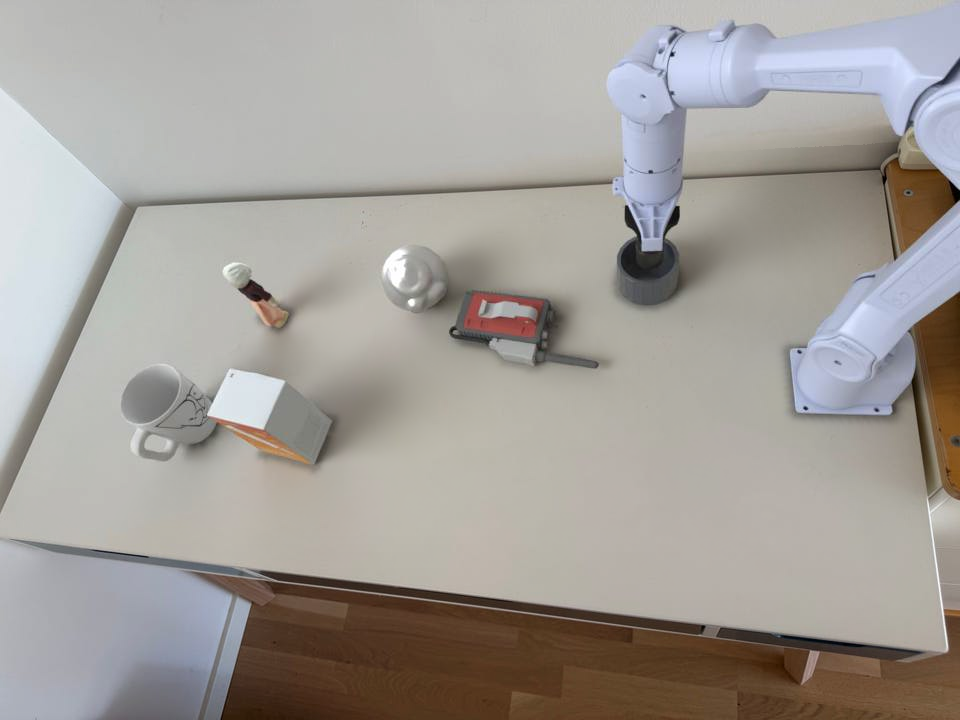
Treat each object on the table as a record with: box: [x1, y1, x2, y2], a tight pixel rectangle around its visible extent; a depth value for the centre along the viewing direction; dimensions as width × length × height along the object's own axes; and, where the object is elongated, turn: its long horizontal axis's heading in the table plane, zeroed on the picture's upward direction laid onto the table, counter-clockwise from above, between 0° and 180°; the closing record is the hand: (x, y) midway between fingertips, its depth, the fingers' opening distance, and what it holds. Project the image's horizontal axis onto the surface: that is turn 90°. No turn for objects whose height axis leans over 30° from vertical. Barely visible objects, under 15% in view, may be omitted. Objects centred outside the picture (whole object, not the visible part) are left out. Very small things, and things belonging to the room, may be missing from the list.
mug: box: [119, 363, 218, 462], centre depth 84 cm, size 11×8×10 cm
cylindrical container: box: [616, 235, 680, 306], centre depth 82 cm, size 7×7×5 cm
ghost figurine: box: [380, 244, 449, 315], centre depth 86 cm, size 9×10×10 cm
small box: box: [207, 367, 333, 466], centre depth 79 cm, size 8×6×13 cm
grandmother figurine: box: [222, 261, 290, 328], centre depth 89 cm, size 8×4×13 cm, turn 68°
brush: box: [636, 239, 664, 269], centre depth 74 cm, size 3×3×10 cm
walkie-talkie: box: [448, 289, 600, 369], centre depth 82 cm, size 9×4×20 cm
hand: (651, 237), depth 75 cm, fingers closed on brush, 2 cm apart
